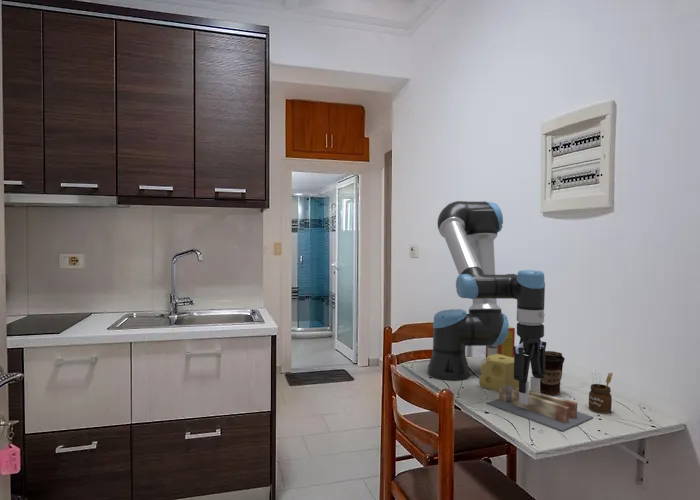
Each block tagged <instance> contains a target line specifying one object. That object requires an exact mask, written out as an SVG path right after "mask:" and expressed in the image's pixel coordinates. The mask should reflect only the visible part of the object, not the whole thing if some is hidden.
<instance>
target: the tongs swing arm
mask: <svg viewBox="0 0 700 500" xmlns="http://www.w3.org/2000/svg"><path fill="white" fill-rule="evenodd" d="M516 390H517V391H519V388H517V389H516ZM529 395H532V396H536V397H539V398H542V399H545V400H548V401H551V402H554V403H557V404H561V405H564V406H567V407H570V409H569V417H572V418H576V417H577V412H578V402H577V401H572V400H568V399H564V398H561V397H555V396H553V395H550V394H545V393H542V392H540V393H537V392H533V391H530V390H529Z"/></svg>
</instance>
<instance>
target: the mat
mask: <svg viewBox="0 0 700 500" xmlns="http://www.w3.org/2000/svg"><path fill="white" fill-rule="evenodd" d="M486 405H489V406H492V407H494V408H498V409H500V410H502V411H505V412H508V413H510V414H514V415H515V416H518V417H520V418H524V419H527V420H530V421H532V422H535V423H538V424H540V425H543V426H546V427H548V428H551V429H554V430H556V431H559V432H563V433H564V432H566V431H568V430H570V429H572V428H575V427H577V426H579V425H581V424H584V423H586V422H588V421H592V420H593V419H594V416H591V415H589V414H586V413H583V412H581V411H580V412H579V411H577V417H576V418H572V417H569V422H568V423H564V422H561V421H558V420H555V419H552V418H550V417H547V416H544V415H541V414H538V413H535V412H533V411H530V410H527V409H524V408H521V407H518V406H516V405H513V404H511V402H505V401H502V400H499V398H497V399H493V400H490V401H487V402H486Z"/></svg>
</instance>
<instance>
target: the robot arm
mask: <svg viewBox="0 0 700 500" xmlns="http://www.w3.org/2000/svg"><path fill="white" fill-rule="evenodd" d="M503 223H504V217H503V212H502V209H501V207H500V206H499V205H498V204H497V203H496V202H493V201H491V202H490V201H487V200H486V201H485V200H484V201H466V200H465V201H464V200H460V201H459V200H456V201H453V202H450V203H448V204H447V205H446V206H445V207H444V208H443V209H441V212H440V213H439V215H438V217H437V223H436V224H437V229H438V232H439V234H440V236H441V237H443V238H444V239H445V242H446V245H447V247H448V250H449V253H450V255H451V258H452V261H453V262H454V265H455V268H456V270H457V273H458V276H457V278H456V280H455V288H456V294H457V296H459V298H461V299H470V300H472V304H471V306H470V307H469V308H468V313H467V311H466V310H464V309H459V308H458V309H444V310H441V311H438V312H436V313H435V314H434V316H433V323H432V329H433V331H432V354H431V356H430V359H429V363H428V366H427V374H428V375H429V376H431V377H433V378H436V379H440V380H444V381H445V380H446V381H461V380H466V379H468V378H470V377H471V376H470V375H471V374H470V373H471V369H470V367H469V364H468V360H467V359H468V358H467V357H466V347H473V346H474V347H477V346H478V347H482V346H483V347H484V346H485V347H486V346H493V345H501V344H502V343H503V342H504V341H505V339H506V338H507V335H508V329H509V324H510V323H509V320H508V317H507V315H506V314H505V313H502V307H500V305H498V303H497V302H498V301H497V299H504V300H505V299H509V300H510V299H512V300H513V299H514V300H516V321H517V323H516V335H517V336H518V337H519V338H520V339H519V343H518V345H517V346H516V345H514V347H513V351H514V379H515V380H518V381H519V402H520V403H523V404H526V405H529V391H533V392H537V393H541V392H540V378H542V379H543V378H544V376H543V375H544V374H545V351H546V348H547V342H546V341H542V339H541V338H544V336H545V325H544V324H543V323H544V322H545V298H546V297H545V296H546V295H545V291H546V288H545V287H546V281H545V273H544V272H543V271H541V270H536V269H535V270H532V269H527V270H525V269H523V270H521V269H520V270H519V271H518V272H517V274H515V273H506V274H496V262H495V261H496V260H495V246H494V244H495V241H494V240H495V239H496V238H497V237H498V234H499V233H500V232H501V231H502V228H503ZM530 368H531V375H532V376H529V372H530ZM541 369H542V370H541ZM529 377H530V380H529V381H530V382H529V381H528V378H529Z"/></svg>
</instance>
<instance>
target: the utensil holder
mask: <svg viewBox="0 0 700 500" xmlns="http://www.w3.org/2000/svg"><path fill="white" fill-rule="evenodd" d="M592 374H594V375H595V376H597V374H598V376H599V377H598V378H597V377H595V379H594V378H592V382H595V380H596V383H592V384H591V385H590V391H589V392H588V408H589V410H591V411H592V412H595V413H599V414H610V413H611V412H612V400H613V398H612V394H611V387H610V386H609V385H610V384H611V381H612V377H613V374H614V373H613V372H608V374H607V377H606V381H605V383H606V385H605V384H602V382H601V379H602V377H601V376H600V373H599V372H598V371H597V370H593V371H592ZM597 379H599V380H598V381H599V382H598V381H597Z"/></svg>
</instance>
